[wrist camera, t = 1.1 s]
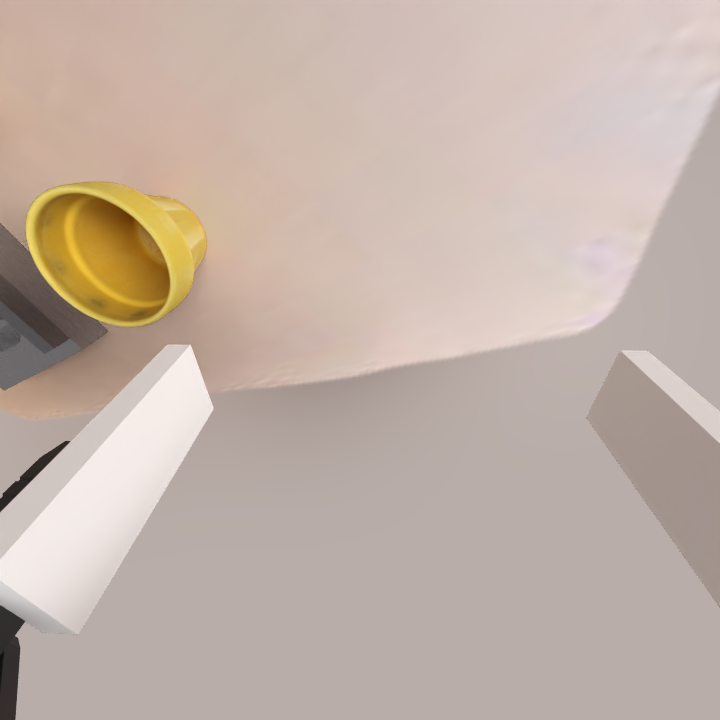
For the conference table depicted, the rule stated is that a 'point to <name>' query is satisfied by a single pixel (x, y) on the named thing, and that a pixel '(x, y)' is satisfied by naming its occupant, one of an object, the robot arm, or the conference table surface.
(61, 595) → the robot arm
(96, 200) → the plant pot
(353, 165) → the conference table surface
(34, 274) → the jig
